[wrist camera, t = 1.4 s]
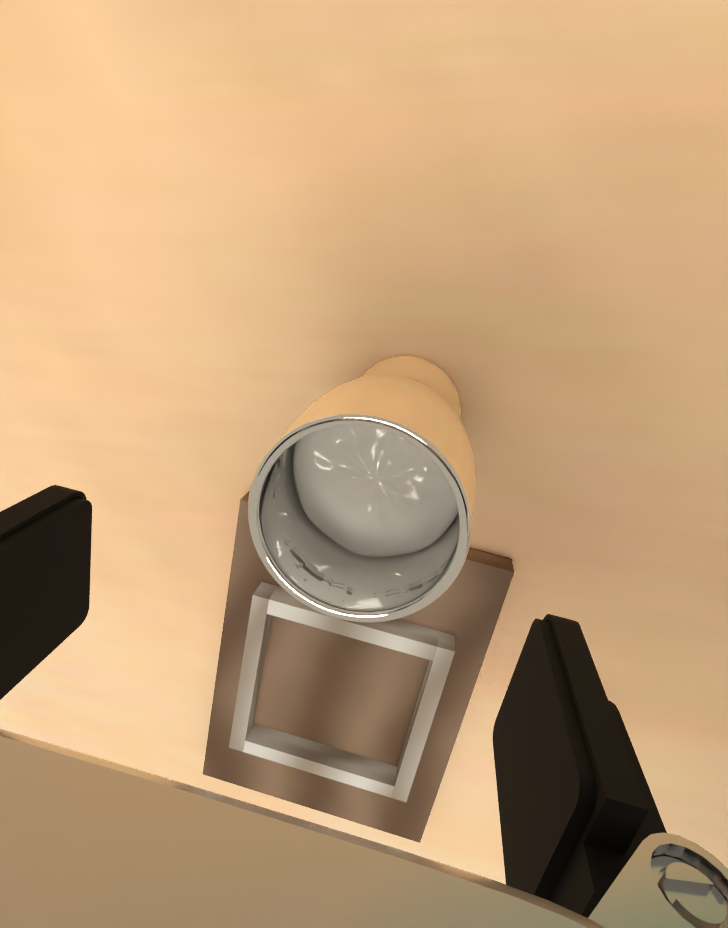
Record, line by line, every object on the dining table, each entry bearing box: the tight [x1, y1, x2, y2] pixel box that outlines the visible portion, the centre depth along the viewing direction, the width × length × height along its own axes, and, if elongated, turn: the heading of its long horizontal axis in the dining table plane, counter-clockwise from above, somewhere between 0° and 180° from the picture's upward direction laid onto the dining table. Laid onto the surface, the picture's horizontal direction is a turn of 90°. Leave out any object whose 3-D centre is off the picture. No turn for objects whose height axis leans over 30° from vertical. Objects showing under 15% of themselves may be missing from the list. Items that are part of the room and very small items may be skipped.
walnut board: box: [203, 491, 514, 842], centre depth 34 cm, size 16×22×3 cm
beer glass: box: [248, 356, 475, 622], centre depth 22 cm, size 7×7×15 cm
